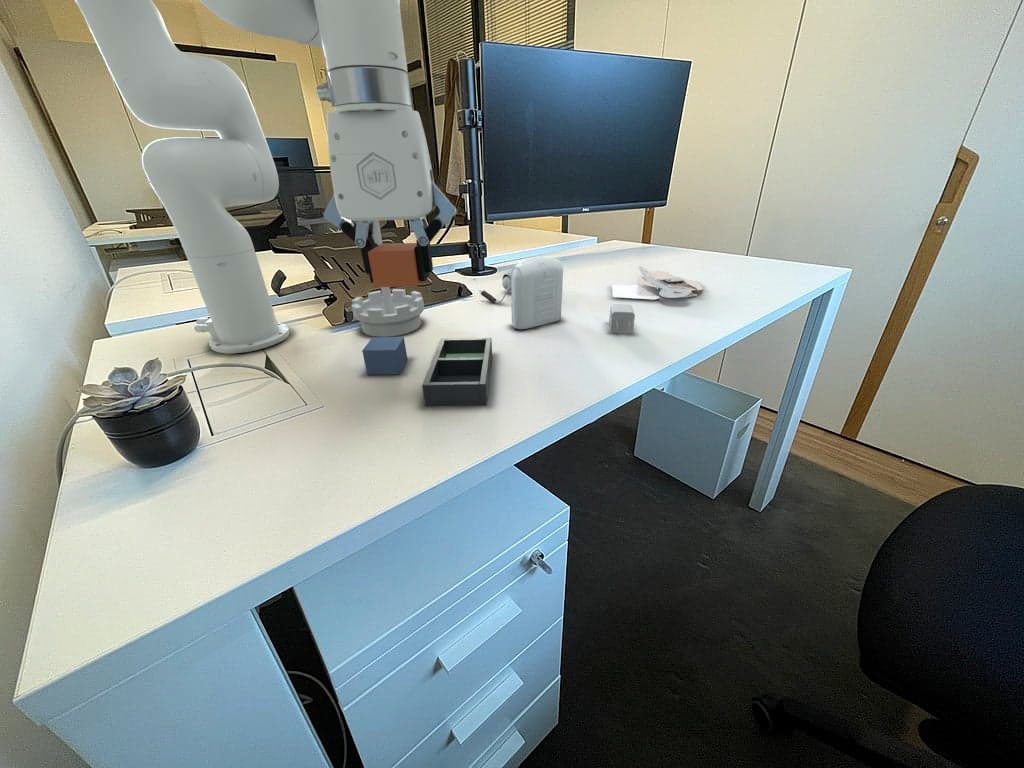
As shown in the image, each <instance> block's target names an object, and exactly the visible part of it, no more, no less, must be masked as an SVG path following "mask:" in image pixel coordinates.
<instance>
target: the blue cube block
mask: <svg viewBox="0 0 1024 768" xmlns="http://www.w3.org/2000/svg"><path fill="white" fill-rule="evenodd" d="M361 352H362V357H363V361H364V366H365V371H366V375H368V376H370V375H373V376H375V375H401V373H402V371H403V369H404V368H405V365H406V364H407V362H408V354H407V348H406V341H405V337H404V336H389V337H377V336H371V338H370V340H369V341H368V342H367V343H366V345H365V346H364V348H363V349H361Z"/></svg>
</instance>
